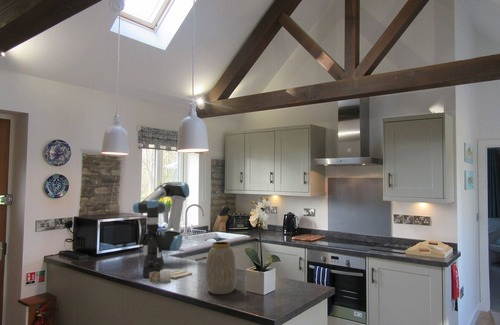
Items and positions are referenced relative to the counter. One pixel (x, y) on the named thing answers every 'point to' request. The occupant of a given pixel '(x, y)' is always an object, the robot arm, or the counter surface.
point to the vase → (221, 269)
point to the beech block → (154, 276)
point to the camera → (151, 268)
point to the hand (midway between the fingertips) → (152, 256)
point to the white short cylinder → (165, 275)
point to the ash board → (179, 274)
